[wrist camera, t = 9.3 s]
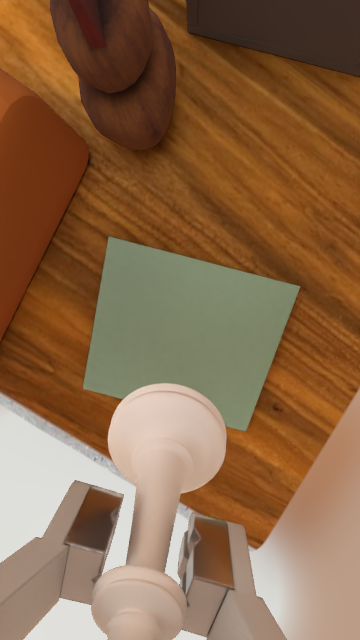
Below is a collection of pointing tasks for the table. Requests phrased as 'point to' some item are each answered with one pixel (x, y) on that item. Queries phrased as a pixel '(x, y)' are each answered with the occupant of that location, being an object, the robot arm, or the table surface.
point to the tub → (285, 28)
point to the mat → (185, 328)
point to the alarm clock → (31, 185)
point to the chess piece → (156, 504)
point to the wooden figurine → (119, 66)
